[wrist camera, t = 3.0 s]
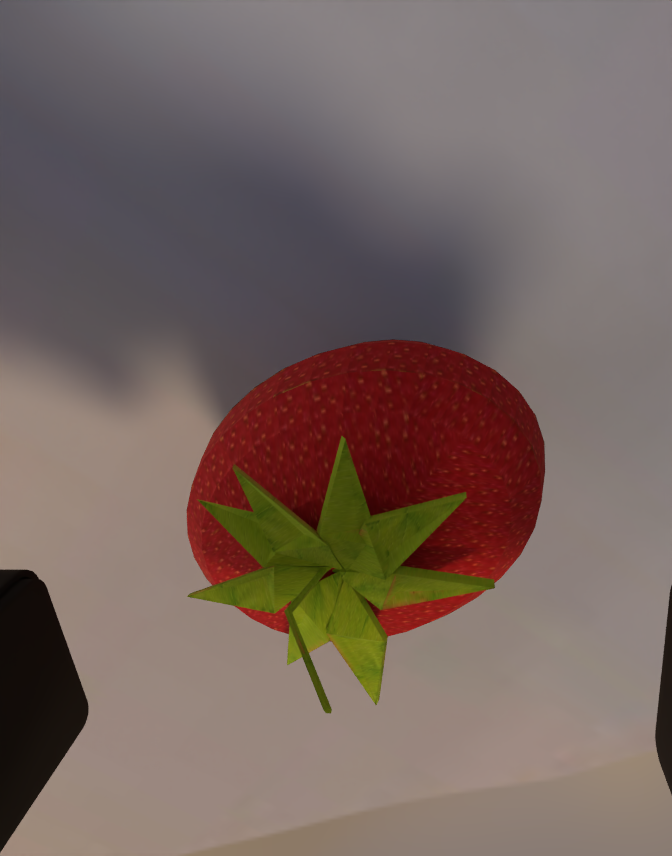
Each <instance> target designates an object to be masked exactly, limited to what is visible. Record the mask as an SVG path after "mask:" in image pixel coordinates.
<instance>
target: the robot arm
mask: <svg viewBox="0 0 672 856" xmlns="http://www.w3.org/2000/svg"><path fill="white" fill-rule="evenodd" d="M87 716H88V702H87V699H86V696H85V693H84V690H83V688H82V685H81V682H80V679H79V676H78V674H77V671H76V668H75V665H74V662H73V660H72V657H71V654H70V651H69V648H68V646H67V643H66V640H65V637H64V635H63V632H62V629H61V626H60V623H59V621H58V618H57V615H56V612H55V609H54V607H53V604H52V601H51V598H50V595H49V593H48V590H47V587H46V585H45V583H44V582H43V581H42V580H39V578H38V577H37V575H36V574H35V573H34V572H33V571H30V570H0V852H1V851H2V849H3V848H4V846H5V845H6V843H7V841H8V840H9V838H10V837H11V835H12V834H13V832H14V831H15V829H16V828H17V826H18V825H19V823H20V822H21V820H22V819H23V817H24V816H25V814H26V813H27V811H28V810H29V808H30V807H31V805H32V804H33V802H34V801H35V799H36V798H37V796H38V795H39V793H40V792H41V790H42V789H43V787H44V786H45V784H46V783H47V781H48V780H49V778H50V777H51V775H52V774H53V772H54V771H55V769H56V768H57V766H58V765H59V763H60V762H61V760H62V759H63V757H64V756H65V754H66V753H67V751H68V750H69V748H70V747H71V745H72V744H73V742H74V741H75V739H76V738H77V736H78V735H79V733H80V732H81V730H82V729H83V727H84V725H85V723H86V720H87ZM655 738H656V747H657V753H658V757H659V761H660V764H661V767H662V770H663V772H664V775H665V778H666V781H667V783H668V786H669V789H670V791H671V794H672V586H671V590H670V597H669V607H668V617H667V626H666V636H665V645H664V655H663V665H662V674H661V684H660V693H659V703H658V713H657V722H656V734H655Z"/></svg>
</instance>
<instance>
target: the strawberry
mask: <svg viewBox="0 0 672 856" xmlns="http://www.w3.org/2000/svg"><path fill="white" fill-rule="evenodd" d="M544 475H545V452H544V440H543V437H542V434H541V431H540V428H539V425H538V422H537V418H536V415H535V414H534V413H533V411H532V410H531V408H530V407H529V405H528V404H527V402H526V401H525V399H524V398H523V396H522V395H521V393H520V392H519V391H518V390H517V389H516V388H515V387H514V386H513V385H511V384H510V383H509V382H508V381H507V380H506V379H505V378H503V377H502V376H501V375H500V374H499V373H498V372H496V371H495V370H494V369H492V368H490V367H488V366H486V365H484V364H482V363H480V362H478V361H476V360H474V359H472V358H470V357H469V356H467V355H465V354H462V353H459V352H455V351H452V350H449V349H446V348H442V347H438V346H435V345H431V344H427V343H424V342H417V341H405V340H382V341H371V342H363V343H359V344H355V345H351V346H347V347H343V348H339V349H335V350H331V351H327V352H323V353H319V354H316V355H314V356H312V357H310V358H307V359H305V360H303V361H300V362H298V363H296V364H293V365H291V366H289V367H286V368H284V369H283V370H281V371H279V372H278V373H276V374H275V375H273V376H272V377H270V378H269V379H267V380H265V381H264V382H262V383H261V384H259V385H258V386H256V387H255V388H254V389H253V390H251V391H250V392H249V393H248V394H247V395H246V396H245V397H244V398H243V399H242V400H241V401H240V402H238V403H237V404H236V405H235V406H234V407H233V408H232V409H231V410H230V411H229V413H228V414H227V416H226V417H225V418H224V420H223V421H222V422H221V424H220V425H219V426H218V428H217V429H216V430H215V432H214V433H213V435H212V437H211V439H210V442H209V444H208V446H207V448H206V450H205V452H204V455H203V457H202V459H201V462H200V464H199V467H198V470H197V473H196V476H195V478H194V481H193V484H192V487H191V492H190V497H189V502H188V507H187V529H188V538H189V541H190V544H191V548H192V551H193V554H194V558H195V560H196V561H197V563H198V565H199V566H200V568H201V570H202V572H203V573H204V575H205V577H206V579H207V580H208V581H209V582H210V583H211V584H212V585H213V586H210V587H207V588H205V589H202V590H199V591H196V592H193V593H191V594H189V595H188V596H187V597H192V598H197V599H202V600H207V601H212V602H218V603H223V604H228V605H233V606H235V607H237V608H238V609H239V610H241V611H242V612H243V613H245V614H246V615H247V616H249V617H250V618H252V619H253V620H255V621H257V622H260V623H262V624H264V625H266V626H268V627H270V628H272V629H274V630H277V631H280V632H284V633H287V634H289V643H288V659H287V665H289V664H290V663H292V662H294V661H296V660H298V659H299V658H301V657H303V660H304V662H305V665H306V667H307V670H308V672H309V675H310V677H311V680H312V682H313V685H314V687H315V690H316V692H317V695H318V697H319V700H320V702H321V705H322V707H323V710H324V711H325V712H326V713H331V710H332V709H331V707H330V704H329V702H328V699H327V697H326V694H325V692H324V689H323V687H322V685H321V682H320V680H319V677H318V675H317V672H316V670H315V667H314V665H313V662H312V660H311V658H310V655H309V653H310V652H311V651H313V650H315V649H317V648H318V647H320V646H322V645H323V644H325V643H327V642H329V641H332V642H333V644H334V645H335V647H336V648H337V650H338V651H339V653H340V654H341V655H342V657H343V658H344V660H345V661H346V663H347V664H348V666H349V667H350V668H351V670H352V671H353V673H354V674H355V676H356V677H357V678H358V680H359V681H360V683H361V684H362V686H363V687H364V689H365V690H366V691H367V693H368V694H369V696H370V697H371V699H372V700H373V702H374V703H375V704H376V705H377V703H378V701H379V697H380V689H381V682H382V674H383V667H384V660H385V652H386V645H387V637H388V636H391V635H395V634H399V633H403V632H407V631H409V630H412V629H414V628H417V627H419V626H422V625H424V624H427V623H429V622H432V621H434V620H436V619H438V618H441V617H443V616H445V615H448V614H450V613H451V612H453V611H455V610H456V609H458V608H460V607H462V606H463V605H465V604H467V603H468V602H470V601H472V600H474V599H475V598H477V597H478V596H479V595H481V594H482V593H483V592H484V591H485V590H488V589H493V588H495V585H494V583H495V582H496V581H498V580H499V579H500V578H501V577H502V576H503V575H504V574H505V572H506V571H507V570H508V569H509V568H510V566H511V565H512V564H513V563H514V562H515V561H516V559H517V558H518V557H519V556H520V555H521V553H522V551H523V549H524V547H525V545H526V543H527V542H528V540H529V538H530V536H531V534H532V532H533V530H534V528H535V524H536V520H537V516H538V512H539V508H540V504H541V500H542V491H543V483H544Z"/></svg>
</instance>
